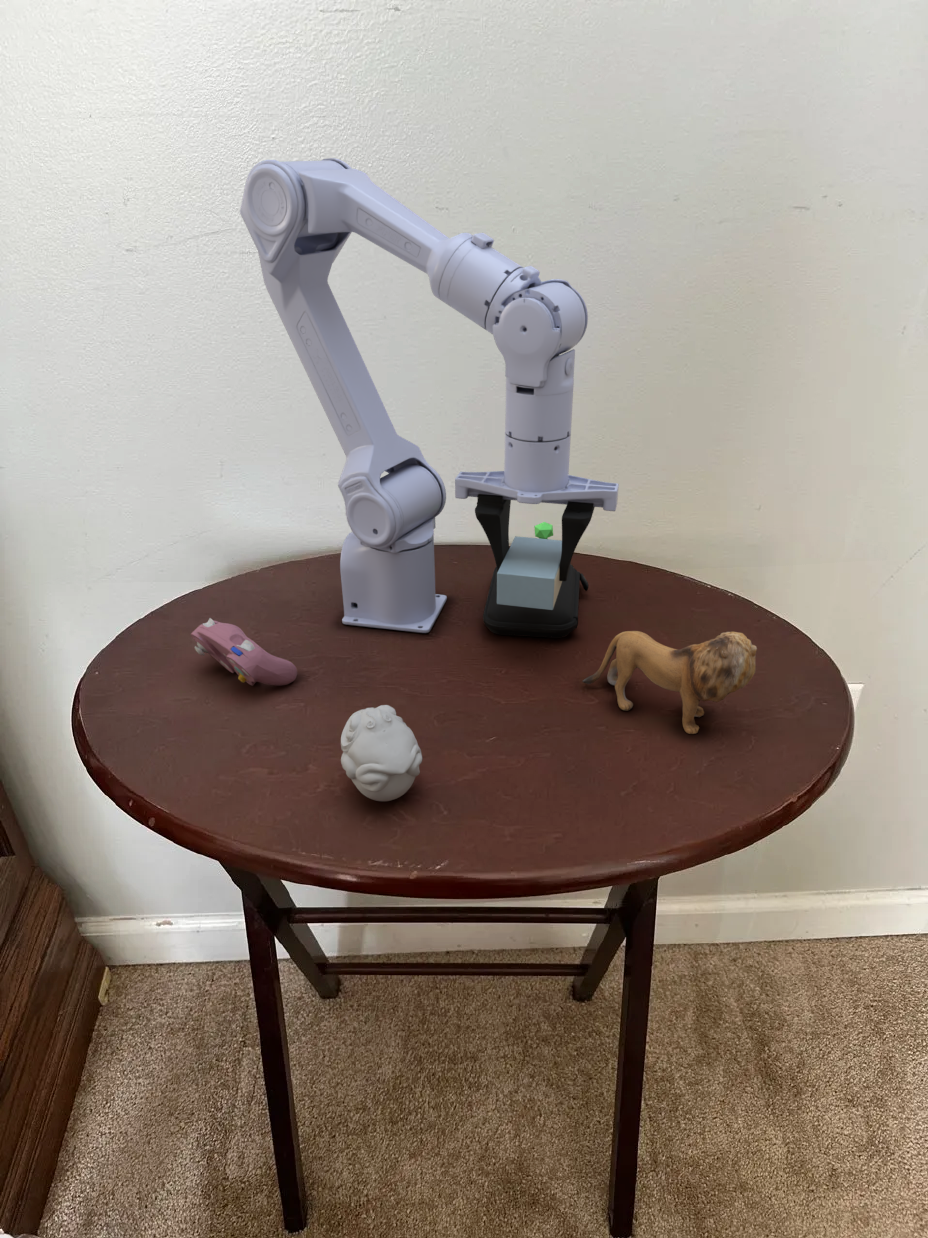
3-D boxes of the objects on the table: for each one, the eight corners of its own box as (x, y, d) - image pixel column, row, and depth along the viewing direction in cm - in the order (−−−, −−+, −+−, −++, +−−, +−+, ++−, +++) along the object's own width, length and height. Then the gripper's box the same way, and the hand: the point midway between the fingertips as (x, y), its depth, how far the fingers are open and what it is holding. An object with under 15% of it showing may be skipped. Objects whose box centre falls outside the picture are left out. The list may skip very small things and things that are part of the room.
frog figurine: (396, 754, 70) (392, 683, 67) (440, 802, 65) (438, 727, 61) (329, 780, 67) (321, 708, 64) (369, 832, 62) (363, 756, 59)
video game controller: (212, 673, 84) (172, 630, 79) (244, 639, 86) (207, 595, 81) (272, 712, 78) (233, 668, 73) (305, 675, 80) (269, 629, 75)
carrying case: (586, 646, 85) (587, 581, 97) (588, 620, 83) (589, 556, 96) (480, 640, 86) (495, 576, 99) (480, 613, 85) (495, 552, 97)
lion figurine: (750, 716, 74) (767, 626, 70) (736, 749, 70) (753, 656, 66) (591, 673, 80) (598, 588, 76) (570, 702, 76) (575, 614, 72)
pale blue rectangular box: (496, 604, 78) (497, 572, 76) (514, 565, 85) (514, 535, 84) (553, 610, 77) (554, 578, 75) (566, 570, 84) (568, 540, 83)
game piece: (564, 564, 102) (567, 517, 99) (555, 579, 98) (557, 531, 95) (530, 558, 103) (531, 512, 100) (519, 573, 99) (520, 526, 96)
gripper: (445, 440, 72) (447, 584, 79) (618, 452, 69) (605, 600, 75) (465, 417, 78) (466, 552, 85) (625, 427, 75) (613, 567, 81)
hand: (532, 573), depth 80 cm, fingers closed on pale blue rectangular box, 5 cm apart
